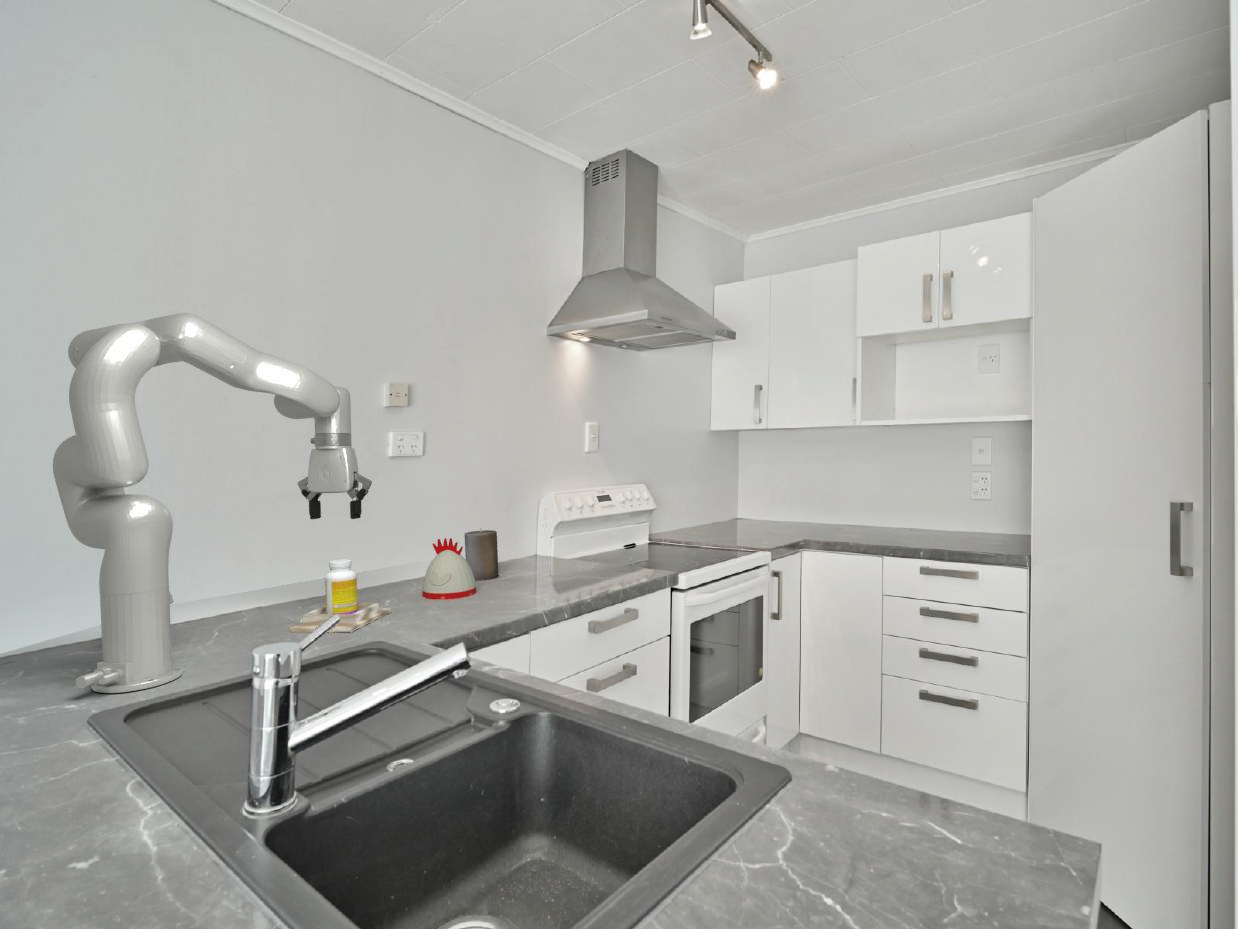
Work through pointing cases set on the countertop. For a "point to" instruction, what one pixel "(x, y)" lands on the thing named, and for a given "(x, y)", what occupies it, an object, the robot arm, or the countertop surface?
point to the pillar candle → (482, 554)
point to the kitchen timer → (448, 574)
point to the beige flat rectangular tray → (347, 621)
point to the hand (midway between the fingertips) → (335, 518)
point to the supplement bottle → (341, 588)
